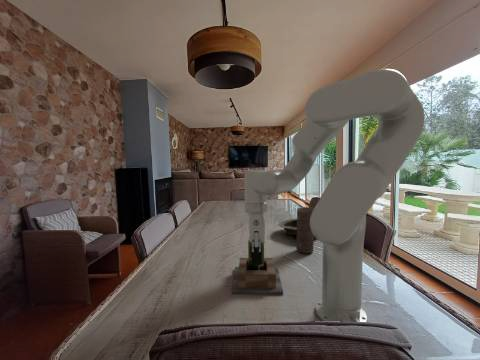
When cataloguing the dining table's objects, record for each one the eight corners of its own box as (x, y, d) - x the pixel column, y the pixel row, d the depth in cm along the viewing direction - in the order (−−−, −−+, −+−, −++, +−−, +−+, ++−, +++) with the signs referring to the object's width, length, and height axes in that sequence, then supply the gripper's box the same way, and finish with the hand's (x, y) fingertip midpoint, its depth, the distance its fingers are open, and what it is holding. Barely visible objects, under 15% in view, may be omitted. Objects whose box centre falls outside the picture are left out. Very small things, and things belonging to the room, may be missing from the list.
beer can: (267, 270, 80) (267, 237, 79) (257, 276, 76) (257, 241, 75) (255, 265, 83) (254, 233, 82) (245, 271, 79) (244, 237, 78)
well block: (283, 294, 71) (283, 277, 71) (231, 293, 72) (231, 277, 72) (277, 269, 87) (277, 255, 87) (235, 269, 88) (234, 255, 88)
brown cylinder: (314, 255, 99) (314, 210, 97) (296, 254, 101) (296, 209, 99) (312, 249, 107) (312, 206, 105) (296, 248, 108) (296, 205, 106)
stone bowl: (333, 242, 114) (332, 224, 113) (282, 246, 115) (281, 228, 114) (317, 226, 138) (316, 211, 137) (275, 230, 139) (274, 215, 138)
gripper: (269, 213, 69) (269, 271, 70) (265, 202, 86) (265, 249, 88) (243, 213, 69) (244, 271, 71) (245, 202, 86) (245, 249, 88)
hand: (256, 258), depth 79 cm, fingers closed on beer can, 5 cm apart
